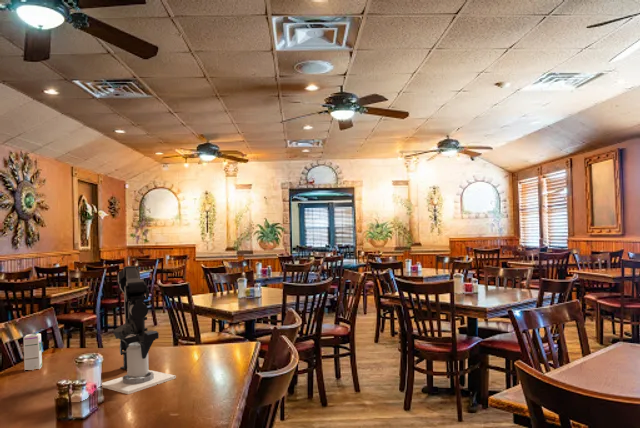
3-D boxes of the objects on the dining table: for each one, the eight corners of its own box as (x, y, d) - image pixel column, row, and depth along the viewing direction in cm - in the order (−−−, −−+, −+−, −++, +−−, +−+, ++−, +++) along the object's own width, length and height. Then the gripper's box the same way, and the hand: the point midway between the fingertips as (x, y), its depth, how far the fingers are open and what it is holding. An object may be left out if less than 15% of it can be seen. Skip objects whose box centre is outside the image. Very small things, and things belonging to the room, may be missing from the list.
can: (141, 379, 172) (140, 345, 173) (123, 378, 174) (122, 345, 174) (152, 372, 180) (151, 340, 180) (134, 372, 181) (134, 340, 182)
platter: (99, 386, 173) (99, 379, 174) (147, 372, 190) (146, 365, 190) (128, 394, 163) (128, 386, 163) (176, 378, 180) (175, 371, 180)
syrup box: (40, 369, 201) (39, 335, 202) (23, 371, 199) (23, 336, 199) (42, 366, 206) (41, 332, 207) (26, 368, 204) (26, 334, 205)
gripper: (102, 317, 176) (103, 359, 176) (132, 320, 166) (133, 366, 165) (129, 312, 185) (130, 352, 185) (159, 315, 175) (160, 358, 174)
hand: (137, 357), depth 177 cm, fingers closed on can, 7 cm apart
